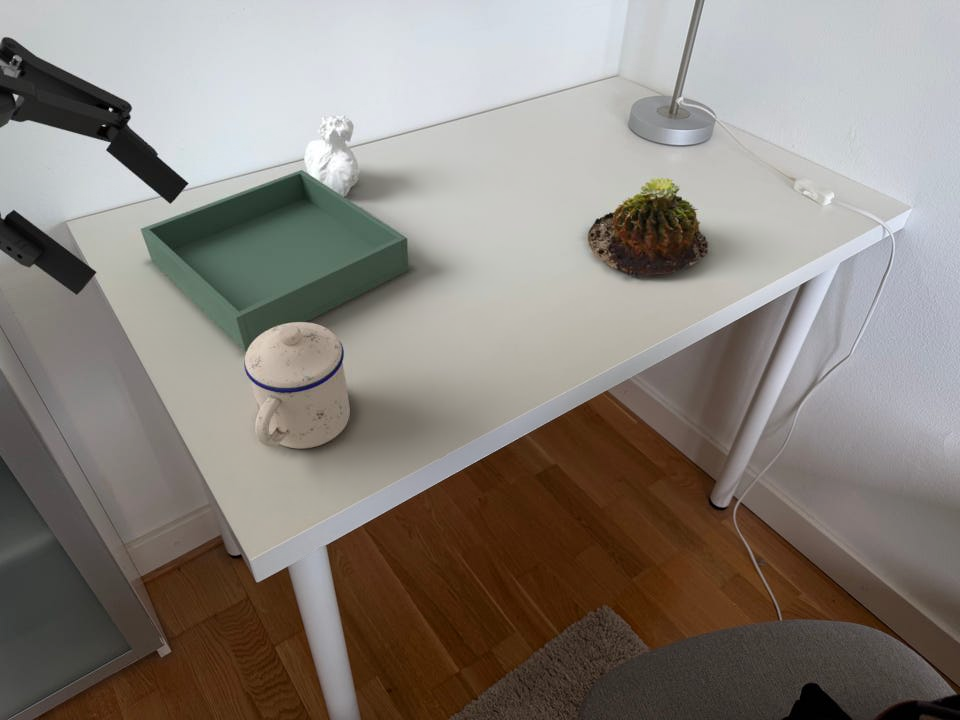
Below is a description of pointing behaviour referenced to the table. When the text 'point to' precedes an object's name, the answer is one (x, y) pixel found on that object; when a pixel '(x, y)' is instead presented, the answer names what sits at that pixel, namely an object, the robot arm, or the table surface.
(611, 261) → the cactus
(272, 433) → the teacup with lid
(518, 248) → the table surface
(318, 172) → the bust
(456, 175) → the table surface
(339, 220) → the tray
